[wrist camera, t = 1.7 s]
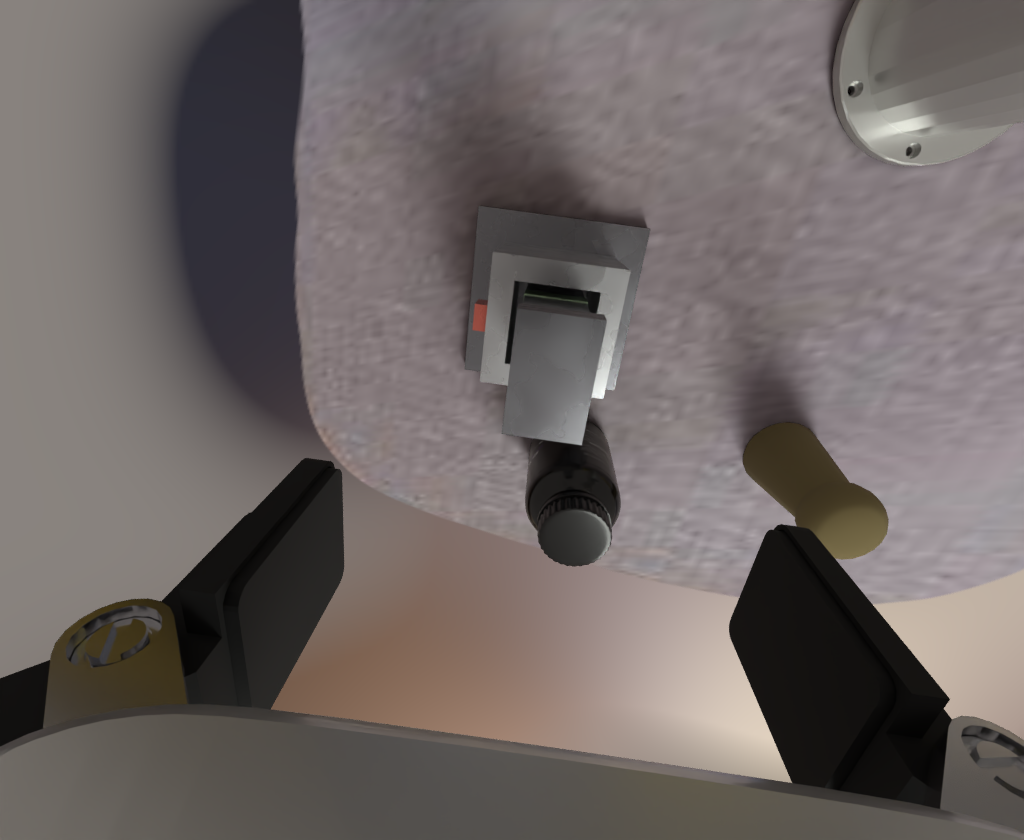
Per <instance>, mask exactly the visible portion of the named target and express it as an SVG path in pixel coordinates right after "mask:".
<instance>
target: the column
mask: <svg viewBox="0 0 1024 840" xmlns="http://www.w3.org/2000/svg"><path fill="white" fill-rule="evenodd" d="M587 304H588V302H587V299H586V298H585V297H584V294H583V292H582V290H580V289H572V288H565V287H558V286H550V285H543V284H536V283H529V282H528V286H527V289H525V293H524V299H523V303H519V305H518V308H517V315H516V323H515V331H514V339H513V347H512V355H511V362H510V370H509V378H508V386H507V394H506V402H505V410H504V418H503V426H502V434H506V435H513V436H520V437H527V438H534V439H541V440H548V441H555V442H562V443H569V444H576V445H582V441H583V437H584V432H585V427H586V422H587V417H588V412H589V407H590V402H591V397H592V392H593V387H594V383H595V378H596V373H597V368H598V363H599V358H600V353H601V348H602V343H603V338H604V334H605V329H606V324H607V320H606V317H605V315H604V314H597V313H590V311H589V308H588V305H587Z"/></svg>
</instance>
